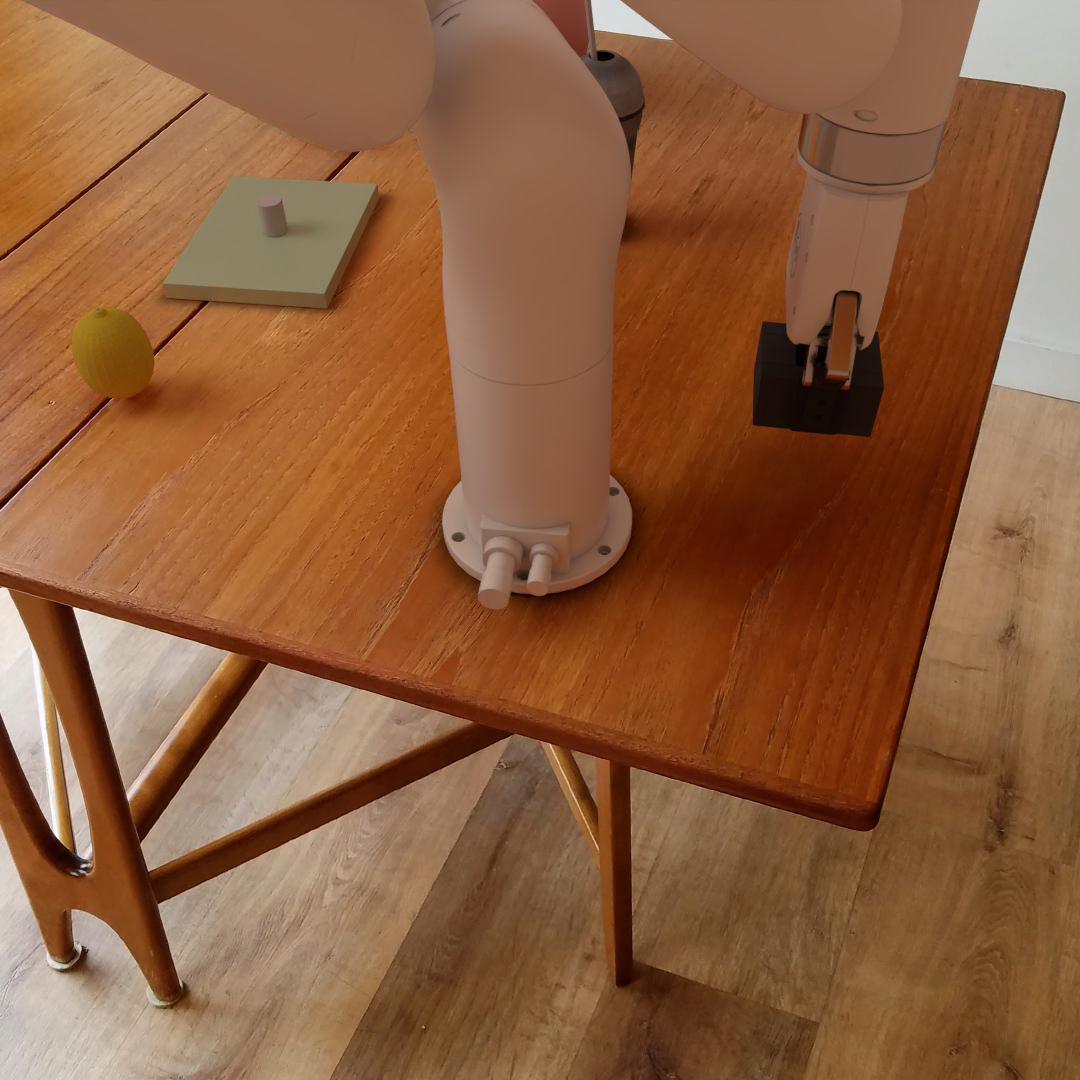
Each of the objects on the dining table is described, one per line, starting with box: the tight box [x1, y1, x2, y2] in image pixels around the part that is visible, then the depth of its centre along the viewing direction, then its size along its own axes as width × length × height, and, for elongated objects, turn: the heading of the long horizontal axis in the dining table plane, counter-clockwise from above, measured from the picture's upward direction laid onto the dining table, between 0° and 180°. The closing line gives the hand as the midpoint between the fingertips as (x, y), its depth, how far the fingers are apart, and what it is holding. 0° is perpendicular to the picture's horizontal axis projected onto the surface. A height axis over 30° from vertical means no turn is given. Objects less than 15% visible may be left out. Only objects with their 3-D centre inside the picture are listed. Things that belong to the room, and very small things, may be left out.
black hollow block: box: [751, 320, 885, 438], centre depth 75 cm, size 6×8×4 cm
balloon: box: [532, 0, 589, 57], centre depth 114 cm, size 15×20×15 cm
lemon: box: [71, 306, 155, 400], centre depth 85 cm, size 6×6×8 cm
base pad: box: [161, 175, 380, 310], centre depth 101 cm, size 18×14×4 cm
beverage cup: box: [580, 0, 646, 232], centre depth 96 cm, size 7×7×20 cm
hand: (811, 395), depth 76 cm, fingers closed on black hollow block, 6 cm apart
